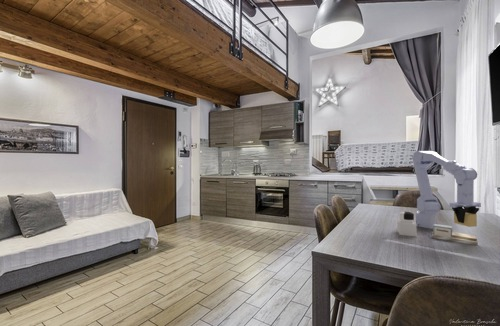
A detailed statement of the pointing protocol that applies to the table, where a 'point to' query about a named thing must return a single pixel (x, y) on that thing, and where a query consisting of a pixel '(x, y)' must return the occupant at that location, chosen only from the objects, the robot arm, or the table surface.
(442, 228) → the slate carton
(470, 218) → the ochre carton
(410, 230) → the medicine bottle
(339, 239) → the table surface
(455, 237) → the beige divided tray
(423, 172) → the robot arm
